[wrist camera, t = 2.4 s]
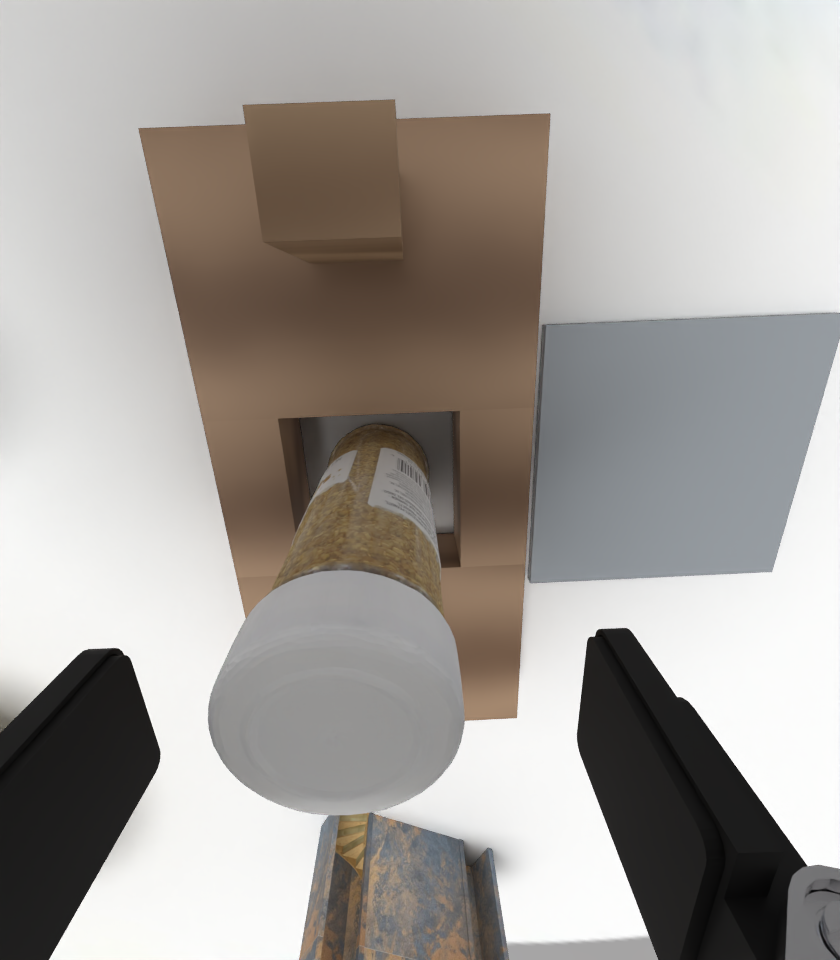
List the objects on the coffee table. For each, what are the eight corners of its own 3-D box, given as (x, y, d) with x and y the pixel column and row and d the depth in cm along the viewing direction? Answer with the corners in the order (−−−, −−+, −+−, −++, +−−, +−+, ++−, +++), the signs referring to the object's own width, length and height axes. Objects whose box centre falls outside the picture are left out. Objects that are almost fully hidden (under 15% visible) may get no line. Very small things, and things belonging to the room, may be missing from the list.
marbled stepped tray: (494, 837, 30) (530, 1063, 21) (472, 863, 31) (498, 1088, 22) (340, 790, 28) (309, 1017, 19) (322, 819, 29) (284, 1048, 20)
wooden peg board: (186, 160, 16) (-14, 27, 8) (525, 147, 16) (629, 5, 8) (286, 681, 24) (232, 846, 17) (504, 671, 25) (546, 830, 17)
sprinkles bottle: (315, 436, 19) (149, 669, 7) (416, 410, 19) (434, 606, 7) (347, 526, 21) (258, 848, 9) (440, 504, 21) (491, 803, 8)
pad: (542, 324, 18) (546, 325, 18) (835, 312, 18) (847, 312, 18) (527, 577, 22) (530, 583, 22) (764, 566, 22) (771, 571, 22)
